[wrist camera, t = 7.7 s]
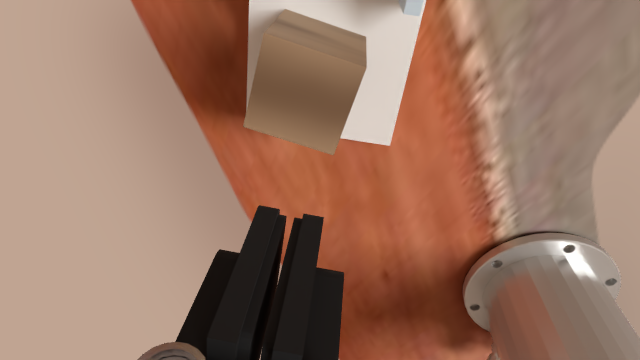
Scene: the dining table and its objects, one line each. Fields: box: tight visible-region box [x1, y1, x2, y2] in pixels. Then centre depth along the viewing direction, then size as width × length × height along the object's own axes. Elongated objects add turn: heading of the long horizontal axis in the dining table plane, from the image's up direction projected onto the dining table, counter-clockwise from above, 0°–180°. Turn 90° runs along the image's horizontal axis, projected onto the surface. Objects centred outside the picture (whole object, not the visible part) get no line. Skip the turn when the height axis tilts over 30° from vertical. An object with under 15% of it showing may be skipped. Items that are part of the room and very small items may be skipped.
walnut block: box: [243, 9, 367, 155], centre depth 22 cm, size 5×5×6 cm
